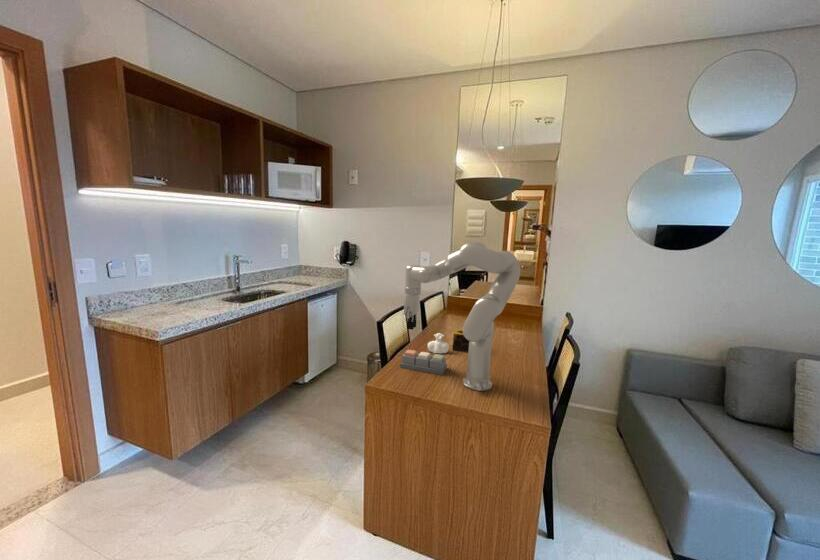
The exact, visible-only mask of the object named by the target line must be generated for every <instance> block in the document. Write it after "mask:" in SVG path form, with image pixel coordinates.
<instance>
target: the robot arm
mask: <svg viewBox="0 0 820 560" xmlns="http://www.w3.org/2000/svg"><path fill="white" fill-rule="evenodd" d="M471 266H472V267H475V268H478V269H480V270H482V271H485V272H488V273H490V274H497V276H496V278H495V279H494V281H493V282H492V284H491V287H490V288H489V290H488V292H487V293H486V294H484V296H483V295H482V296H481V297H479V299H478V300H476V301H475V303H474V305H473V306H472V308H471V310H470V312H469V314H468V315H467V317H466V319H465V321H464V323H463V326H462V330H463V334H464V337H465V338H466V339H467V340H468V341H469V351H468V352H467V353H468V354H467V369H466V376H465V377H463V379H462V384H463V385H464V387H466V388H468V389H470V390H474V391H477V392H478V391H479V392H480V391H481V392H483V391H489V390H491V388H492V387H493V382H492V381H491V380H490V369H491V368H490V367H491V357H492V356H491V355H492V346H493V344H492V343H493V338H494V337H493V336H494V333H495V321H494V320H495V319H496V317H498V316H500V315H501V313H502V312H503V310H504V308H505V307H506V305H507V303H508V302H509V300H510V297H511V296H512V294H513V292H514V291H515V289H516V286H517V285H518V282H519V279H520V277H521V265H520V263H519V260H518V259H517V257H516V256H515V254H513V253H512V252H510V251H507V250H500V251H496V250H494V249H493V250H492V249H490V248H487V247H486V245H485V244H484V243H482V242H480V241H471V242H466V243H464V244H463V245H462V246H461V247H460V248H459V249H458V250H456V251H453V252H450V253H449V254H448V255H447V257H446V258H445V259H443V260H442V261H439V262H437V263H435V264H432V265H426V266H421V265H419V264H418V265H417V264H409V265H406V268H405V278H404V279H405V280H404V281H405V282H404V283H405V284H404V285H405V286H404V294H405V296H404V302H403V303H404V304H403V315H404V316H405V318H406V329H407V330H412V331H413V330H414V328H417V315H418V313H419V311H420V295H422V292H421V291H422V283H423V284H428V283H432V282H436V281H438V280H441V279H444V278H447V277H448V276H450V275H453V274H456V273H457V272H460V271H462V270H464V269H466V268H469V267H471Z"/></svg>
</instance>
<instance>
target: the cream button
mask: <svg viewBox="0 0 820 560" xmlns="http://www.w3.org/2000/svg"><path fill="white" fill-rule="evenodd" d="M430 355H431V353H430V352H425V351H420V353H419V355H418V358H421V359H427V360H428V358H429V357H430Z"/></svg>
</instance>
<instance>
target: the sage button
mask: <svg viewBox="0 0 820 560" xmlns="http://www.w3.org/2000/svg"><path fill="white" fill-rule="evenodd" d="M432 357H433V358H432V360H433V361H439V362H442V361H443V360H444V358H445V355H442V354H439V353H434V354H433V355H432Z"/></svg>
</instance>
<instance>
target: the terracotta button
mask: <svg viewBox="0 0 820 560" xmlns="http://www.w3.org/2000/svg"><path fill="white" fill-rule="evenodd" d="M416 353H417V350H413V349H407V350H406V351H405V352H404V354H405V356H410V357H414V356H415V355H416Z"/></svg>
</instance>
